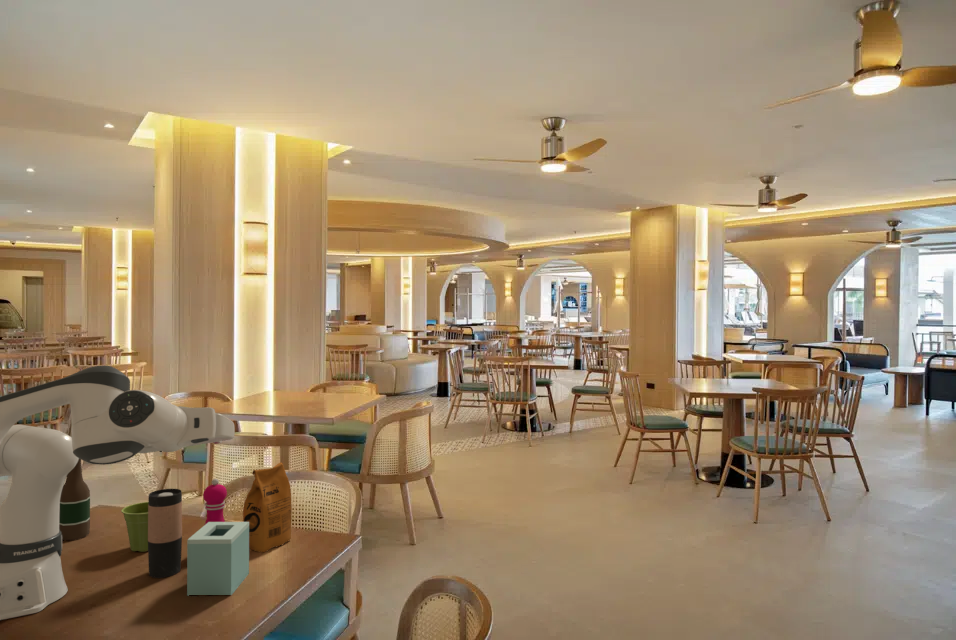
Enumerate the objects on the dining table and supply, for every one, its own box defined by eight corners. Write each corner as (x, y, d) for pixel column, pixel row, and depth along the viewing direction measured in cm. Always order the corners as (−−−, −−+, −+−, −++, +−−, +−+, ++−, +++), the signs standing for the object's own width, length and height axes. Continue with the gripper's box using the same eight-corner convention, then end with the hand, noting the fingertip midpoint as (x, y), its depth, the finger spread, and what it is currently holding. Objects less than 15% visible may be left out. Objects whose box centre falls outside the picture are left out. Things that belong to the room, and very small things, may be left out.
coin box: (231, 595, 141) (231, 539, 140) (187, 595, 140) (187, 539, 140) (248, 573, 152) (249, 521, 152) (208, 573, 152) (208, 521, 152)
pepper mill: (234, 547, 170) (234, 475, 169) (220, 557, 162) (220, 482, 162) (209, 546, 170) (209, 474, 170) (194, 556, 163) (195, 481, 163)
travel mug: (140, 575, 151) (140, 495, 151) (165, 564, 158) (166, 487, 158) (163, 580, 148) (164, 498, 148) (188, 568, 155) (189, 490, 155)
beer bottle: (72, 530, 181) (73, 450, 181) (96, 532, 180) (96, 451, 180) (51, 540, 174) (51, 456, 174) (75, 542, 173) (75, 457, 172)
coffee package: (236, 548, 169) (237, 469, 169) (271, 534, 180) (272, 460, 180) (261, 555, 164) (262, 473, 164) (296, 540, 175) (296, 464, 175)
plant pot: (178, 544, 172) (179, 504, 172) (138, 559, 161) (138, 516, 161) (152, 537, 177) (152, 498, 177) (111, 550, 167) (111, 509, 166)
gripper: (115, 452, 121) (148, 465, 133) (220, 436, 122) (243, 449, 135) (117, 421, 123) (149, 437, 136) (220, 405, 125) (242, 422, 138)
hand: (197, 443), depth 136 cm, fingers open, 8 cm apart
